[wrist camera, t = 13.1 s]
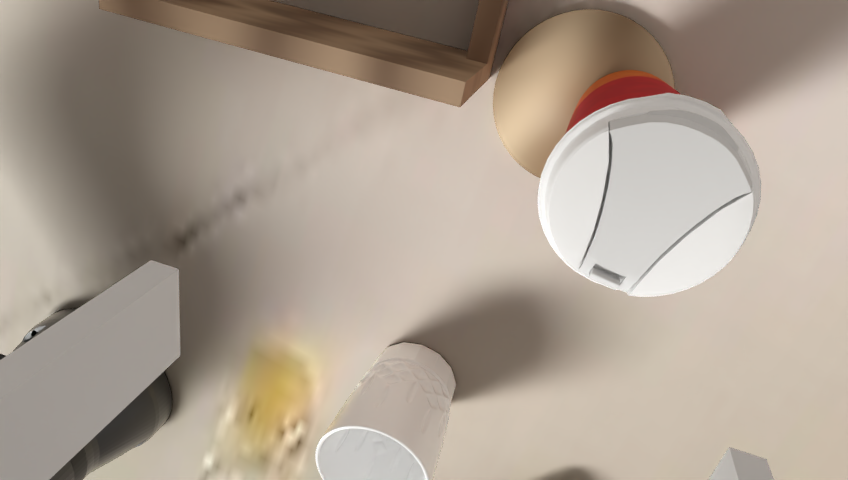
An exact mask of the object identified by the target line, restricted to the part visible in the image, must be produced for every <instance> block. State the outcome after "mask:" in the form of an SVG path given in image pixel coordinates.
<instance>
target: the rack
mask: <svg viewBox="0 0 848 480" xmlns="http://www.w3.org/2000/svg"><path fill="white" fill-rule="evenodd" d="M508 1H509V0H479V4H478V8H477V13H476V17H475V22H474V26H473V31H472V35H471V40H470V44H469V48H468V51H466V50H462V49H458V48H454V47H450V46H446V45H442V44H438V43H435V42H431V41H427V40H423V39H419V38H415V37H411V36H407V35H403V34H399V33H395V32H392V31H388V30H384V29H380V28H376V27H372V26H368V25H364V24H360V23H356V22H353V21H349V20H345V19H341V18H337V17H333V16H329V15H325V14H321V13H317V12H313V11H310V10H306V9H302V8H298V7H294V6H290V5H286V4H282V3H278V2H274V1H271V0H99V9H102V10H105V11H109V12H113V13H116V14H120V15H124V16H127V17H131V18H135V19H138V20H142V21H146V22H149V23H153V24H157V25H160V26H164V27H168V28H171V29H175V30H179V31H182V32H186V33H190V34H193V35H197V36H201V37H204V38H208V39H212V40H215V41H219V42H223V43H226V44H230V45H234V46H237V47H241V48H245V49H248V50H252V51H256V52H259V53H263V54H267V55H270V56H274V57H278V58H281V59H285V60H289V61H292V62H296V63H300V64H303V65H307V66H310V67H314V68H318V69H321V70H325V71H329V72H332V73H336V74H340V75H343V76H347V77H351V78H354V79H358V80H362V81H365V82H369V83H373V84H376V85H380V86H384V87H387V88H391V89H395V90H398V91H402V92H406V93H409V94H413V95H417V96H420V97H424V98H428V99H431V100H435V101H439V102H442V103H446V104H450V105H453V106H457V107H461V106H462V105H463V104H464V103H465V102H466V101H467V100H468V99H469V98H470V97H471V96H472V95H473V94H474V93H475V92H476V91H477V90H478V89H479V88H480V87H481V86H482V85H483V84H484V83H485V82H486V81H487V80H488V79H489V77H490V73H491V69H492V65H493V61H494V57H495V53H496V49H497V45H498V41H499V37H500V33H501V29H502V25H503V21H504V17H505V13H506V9H507V5H508Z"/></svg>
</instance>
